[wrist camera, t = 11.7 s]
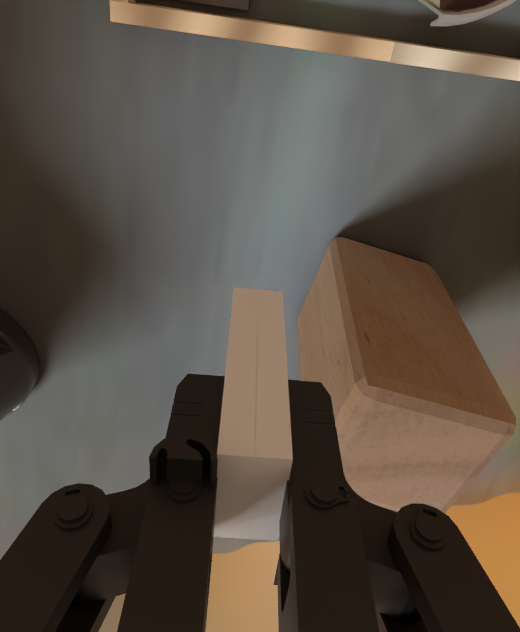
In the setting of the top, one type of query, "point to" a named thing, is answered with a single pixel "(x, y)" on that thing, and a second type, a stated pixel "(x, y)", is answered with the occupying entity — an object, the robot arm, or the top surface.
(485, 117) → the top surface
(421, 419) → the block
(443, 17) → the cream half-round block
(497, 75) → the trap channel
